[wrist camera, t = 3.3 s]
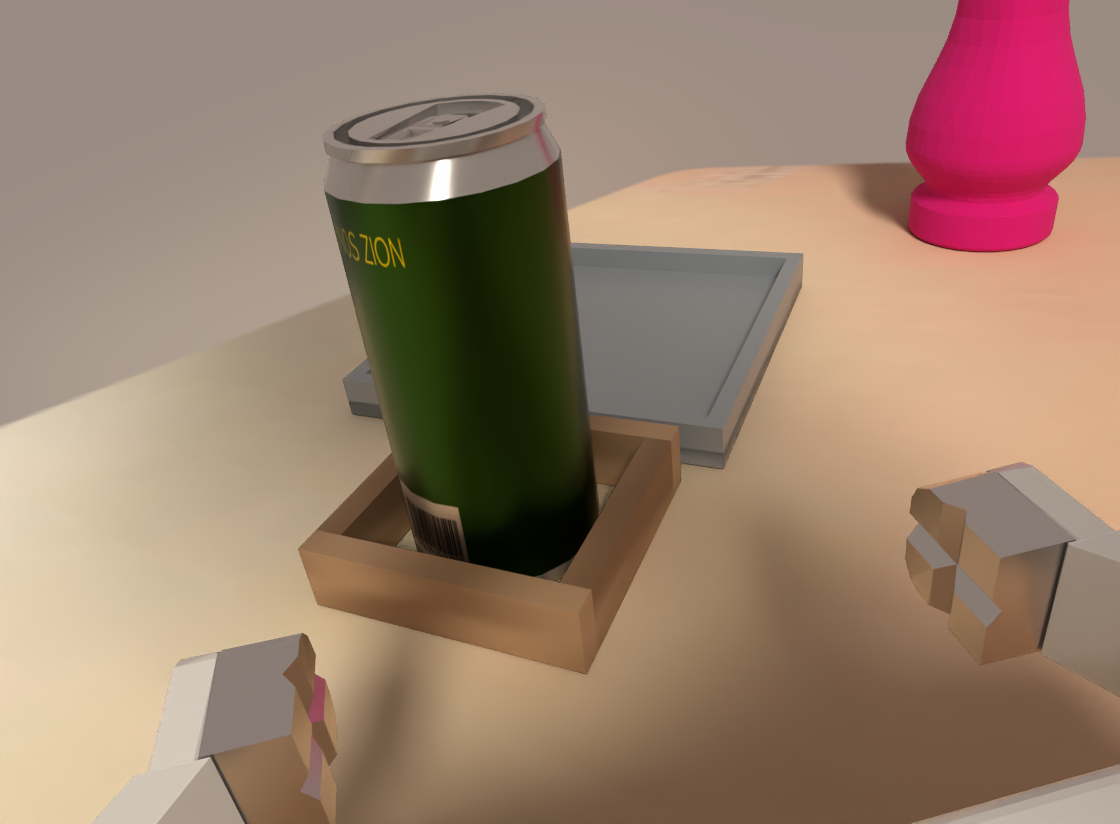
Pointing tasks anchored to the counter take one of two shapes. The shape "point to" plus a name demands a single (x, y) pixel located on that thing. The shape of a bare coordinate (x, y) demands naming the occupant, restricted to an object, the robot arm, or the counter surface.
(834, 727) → the counter surface
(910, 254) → the counter surface
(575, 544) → the beer can
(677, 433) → the can holder
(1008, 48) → the pepper mill
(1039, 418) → the counter surface
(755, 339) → the tray
